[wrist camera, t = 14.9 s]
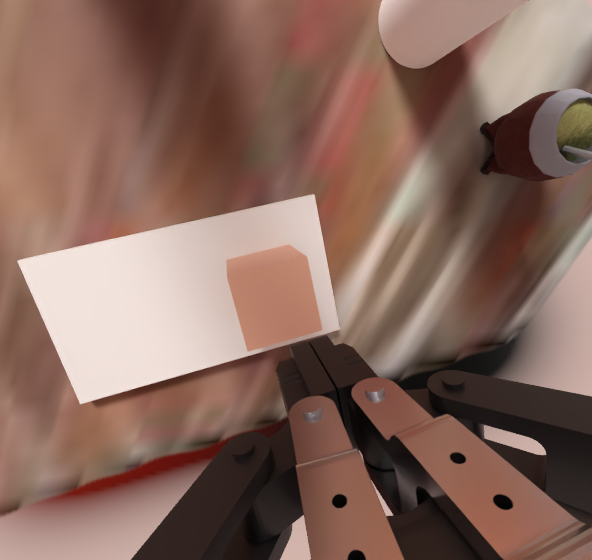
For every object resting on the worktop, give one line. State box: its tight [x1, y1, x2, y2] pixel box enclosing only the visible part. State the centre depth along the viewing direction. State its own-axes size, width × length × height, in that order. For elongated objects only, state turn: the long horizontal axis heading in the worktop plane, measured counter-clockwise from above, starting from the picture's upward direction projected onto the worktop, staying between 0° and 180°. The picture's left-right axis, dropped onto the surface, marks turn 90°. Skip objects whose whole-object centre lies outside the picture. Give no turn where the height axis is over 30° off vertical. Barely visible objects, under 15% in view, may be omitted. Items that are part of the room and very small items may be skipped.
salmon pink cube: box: [226, 244, 322, 352], centre depth 27 cm, size 6×6×7 cm
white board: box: [18, 194, 340, 404], centre depth 30 cm, size 24×13×2 cm, turn 102°
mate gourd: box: [480, 89, 592, 181], centre depth 27 cm, size 8×8×15 cm
